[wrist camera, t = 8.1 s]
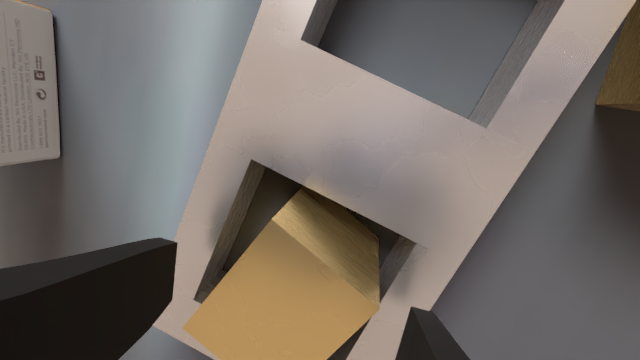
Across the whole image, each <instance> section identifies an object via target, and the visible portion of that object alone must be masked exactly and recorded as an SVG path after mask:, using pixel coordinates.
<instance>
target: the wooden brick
mask: <svg viewBox="0 0 640 360" xmlns="http://www.w3.org/2000/svg"><path fill="white" fill-rule="evenodd" d="M595 105H601V106H607V107H614V108H620V109H626V110H632V111H638V112H640V0H636V2H635V3H634V5H633V6H632V8H631V9H630V11H629V13H628V15H627V18H626V21H625V24H624V26H623V29H622V32H621V35H620V37H619V40H618V43H617V45H616V48H615V51H614V54H613V56H612V59H611V62H610V65H609V67H608V70H607V73H606V75H605V78H604V81H603V84H602V86H601V89H600V92H599V95H598V97H597V100H596V103H595Z"/></svg>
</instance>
